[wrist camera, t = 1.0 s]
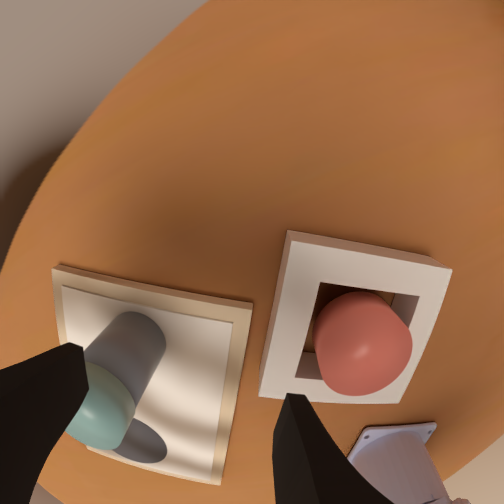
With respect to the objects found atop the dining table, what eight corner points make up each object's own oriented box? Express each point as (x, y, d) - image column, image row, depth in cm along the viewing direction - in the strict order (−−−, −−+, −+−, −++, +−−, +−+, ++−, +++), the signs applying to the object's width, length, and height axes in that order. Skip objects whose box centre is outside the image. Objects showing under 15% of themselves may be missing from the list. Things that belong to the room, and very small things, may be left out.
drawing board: (221, 478, 24) (219, 487, 22) (91, 442, 24) (86, 450, 22) (253, 303, 19) (252, 312, 17) (59, 264, 19) (49, 269, 17)
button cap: (377, 367, 17) (392, 396, 14) (303, 362, 17) (308, 393, 14) (403, 296, 16) (425, 319, 13) (323, 285, 16) (335, 309, 13)
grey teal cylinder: (167, 371, 19) (126, 459, 11) (111, 356, 19) (55, 431, 11) (168, 317, 18) (115, 403, 10) (108, 303, 18) (36, 372, 10)
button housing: (385, 378, 20) (398, 403, 17) (259, 368, 20) (258, 396, 17) (428, 256, 17) (452, 269, 14) (287, 229, 17) (291, 240, 14)
